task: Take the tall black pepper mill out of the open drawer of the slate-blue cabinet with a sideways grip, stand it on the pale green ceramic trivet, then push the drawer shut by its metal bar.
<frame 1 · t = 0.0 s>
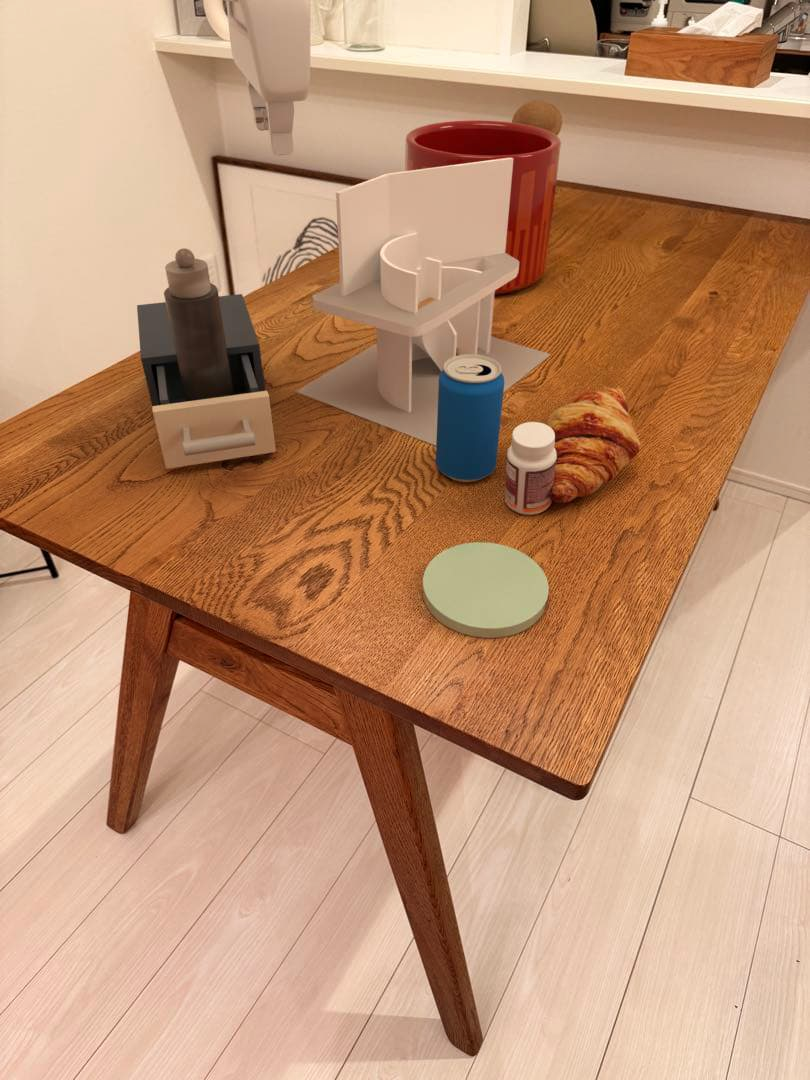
hand: (273, 140, 69), 30 cm above the table, tool pointing down, fingers open, 8 cm apart
pill bottle: (527, 501, 78), on the table, touching croissant
planter: (474, 273, 126), on the table
croissant: (587, 458, 83), point 1 cm above the table, touching pill bottle
pepper mill: (214, 421, 85), point 2 cm above the table, touching drawer
beverage can: (465, 470, 82), on the table
cabinet: (207, 390, 95), on the table
architectural model: (428, 373, 99), on the table
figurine: (527, 218, 148), on the table
drawer: (212, 410, 83), point 4 cm above the table, slide at 9.0 cm, touching pepper mill
trivet: (484, 592, 67), on the table
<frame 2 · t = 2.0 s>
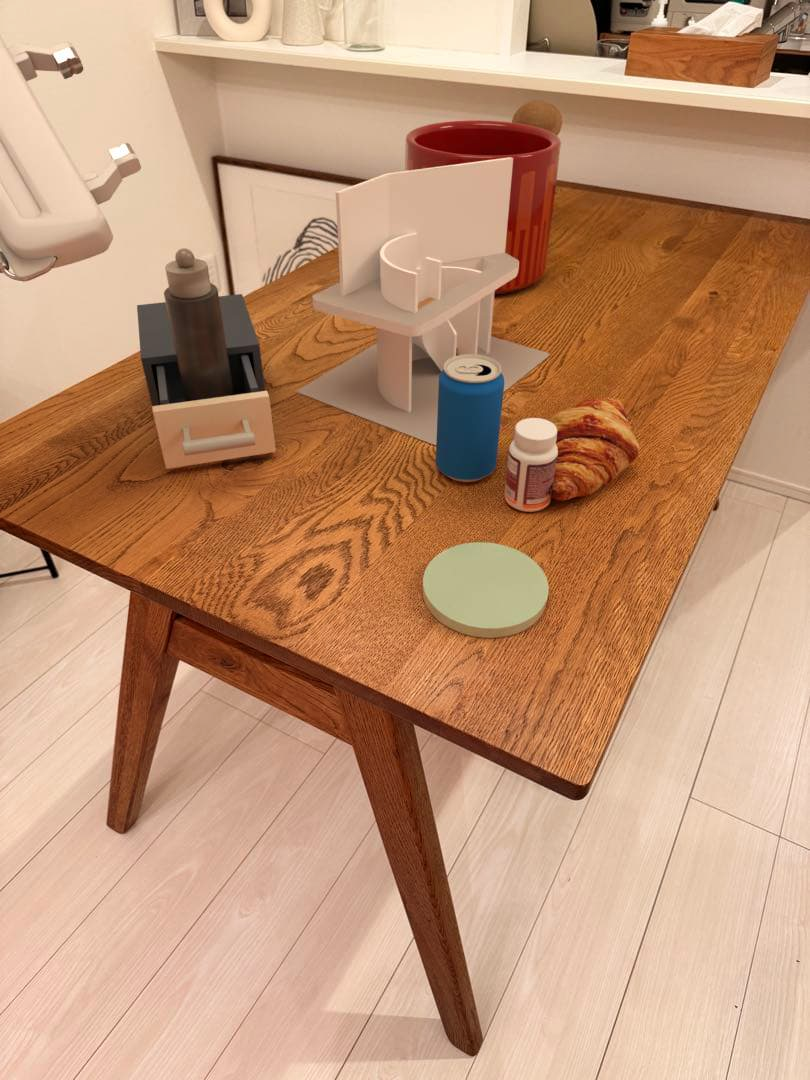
hand: (106, 105, 61), 34 cm above the table, tool horizontal, fingers open, 8 cm apart
pill bottle: (526, 500, 78), on the table, touching croissant
croissant: (587, 463, 83), on the table, touching pill bottle
everything else where it was.
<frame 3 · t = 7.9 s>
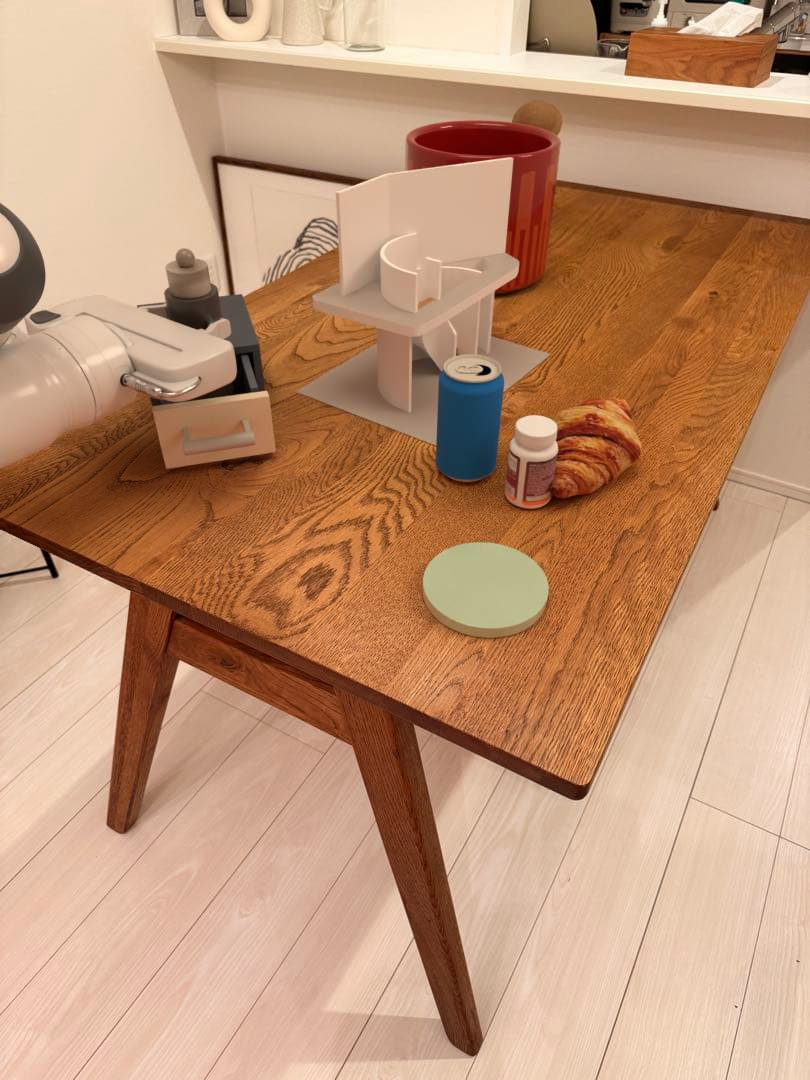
hand: (202, 316, 78), 14 cm above the table, tool horizontal, fingers closed on pepper mill, 5 cm apart
pepper mill: (214, 421, 85), point 2 cm above the table, touching drawer, gripper
when the fingers open (13 cm above the table, at t = 19.5 s): pepper mill stays where it is, resting on trivet.
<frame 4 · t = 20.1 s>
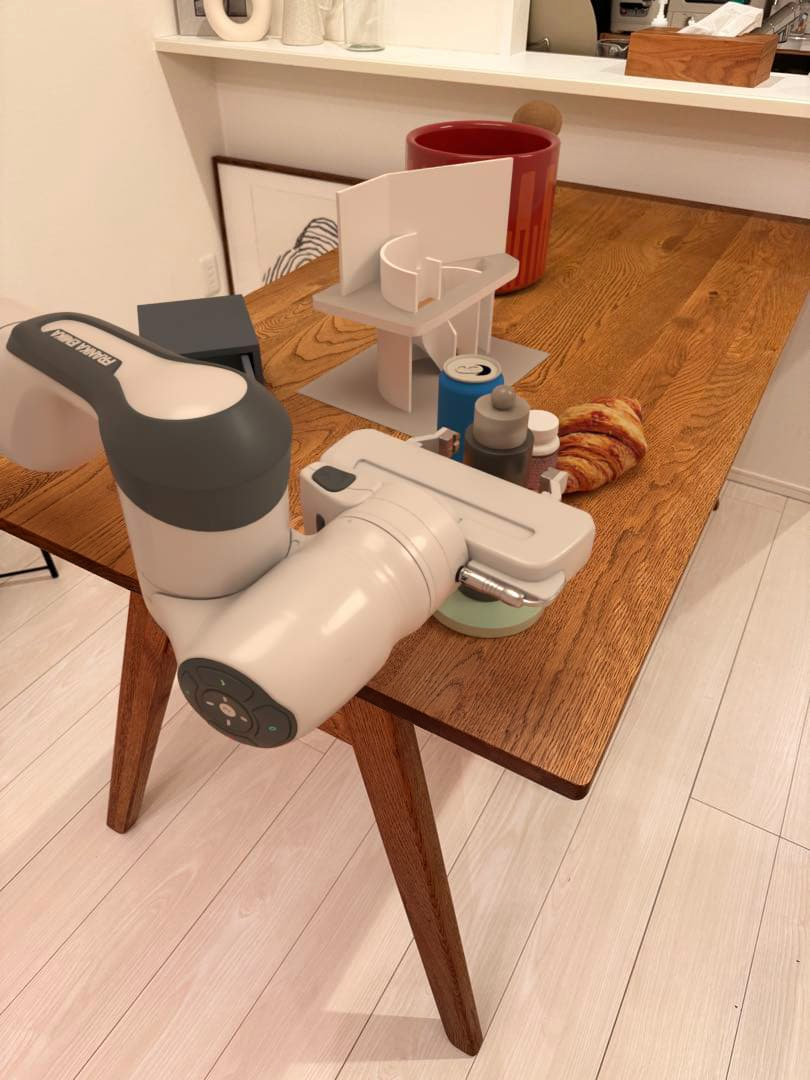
hand: (503, 456, 59), 14 cm above the table, tool horizontal, fingers open, 8 cm apart
pill bottle: (528, 491, 79), on the table, touching croissant
pepper mill: (484, 581, 67), point 1 cm above the table, touching trivet
drawer: (212, 410, 83), point 4 cm above the table, slide at 9.0 cm
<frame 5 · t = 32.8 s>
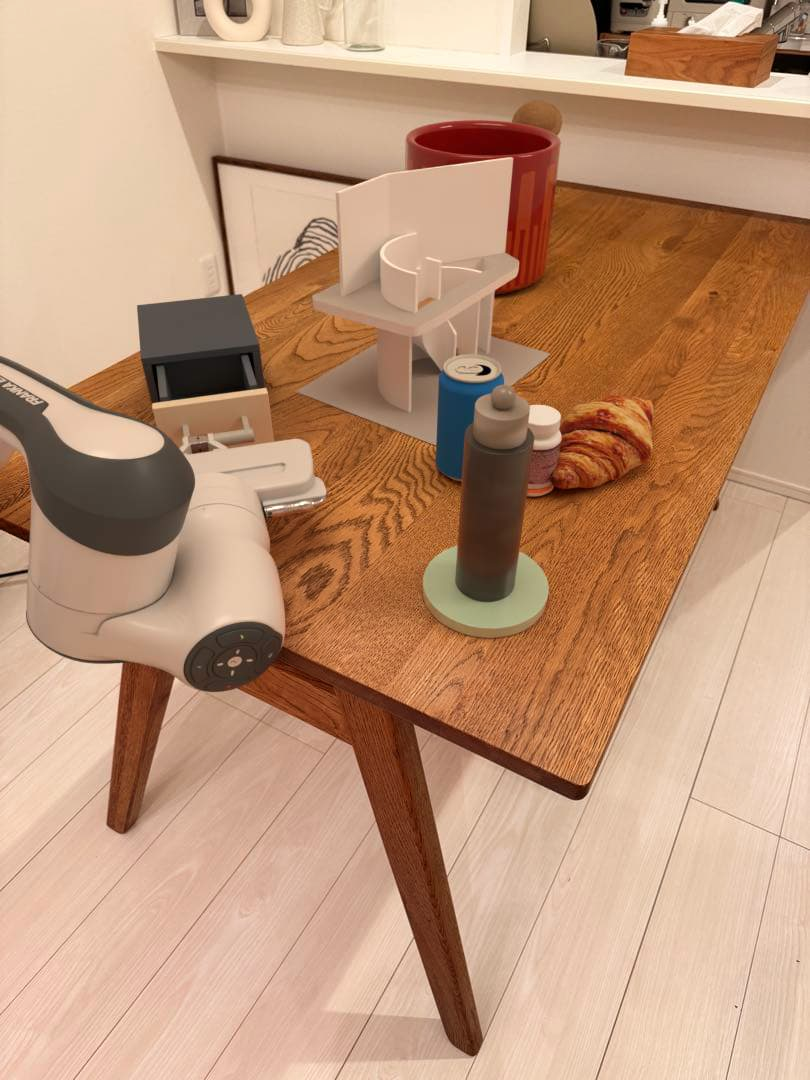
hand: (198, 441, 75), 6 cm above the table, tool horizontal, fingers closed, pressing on drawer
pill bottle: (530, 485, 80), on the table, touching croissant
drawer: (211, 407, 83), point 4 cm above the table, slide at 8.4 cm, touching gripper
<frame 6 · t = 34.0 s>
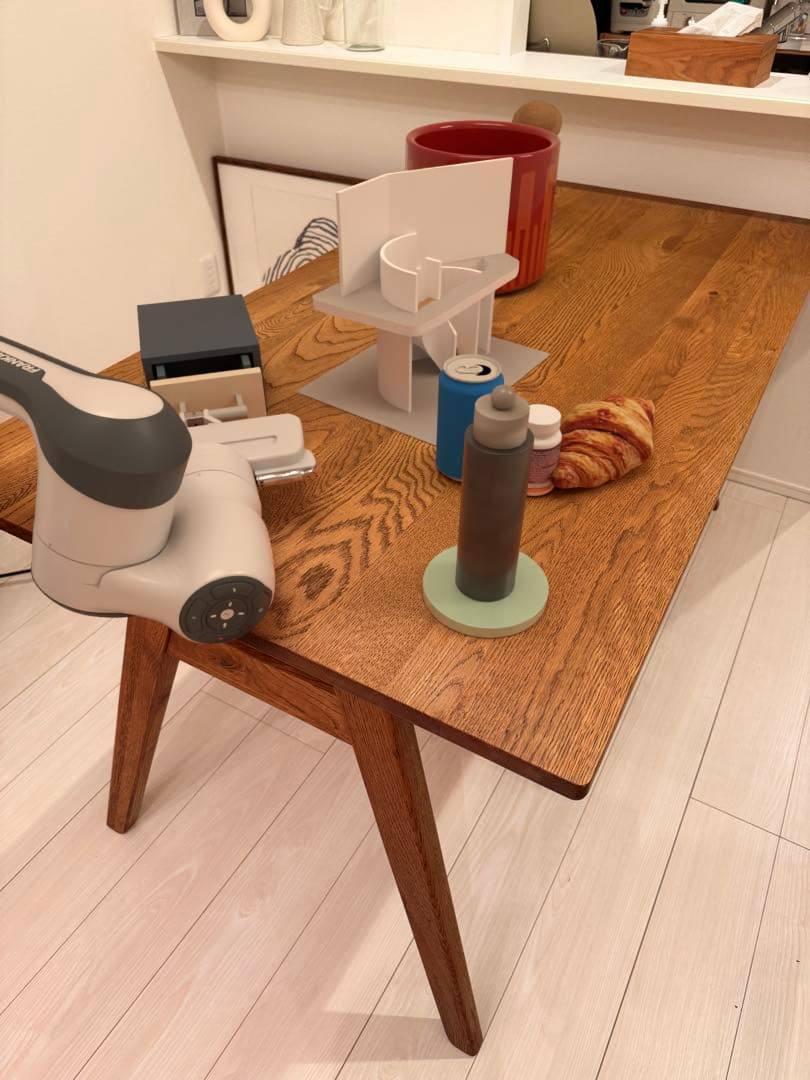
hand: (194, 416, 79), 6 cm above the table, tool horizontal, fingers closed, pressing on drawer
drawer: (207, 387, 87), point 4 cm above the table, slide at 3.6 cm, touching gripper
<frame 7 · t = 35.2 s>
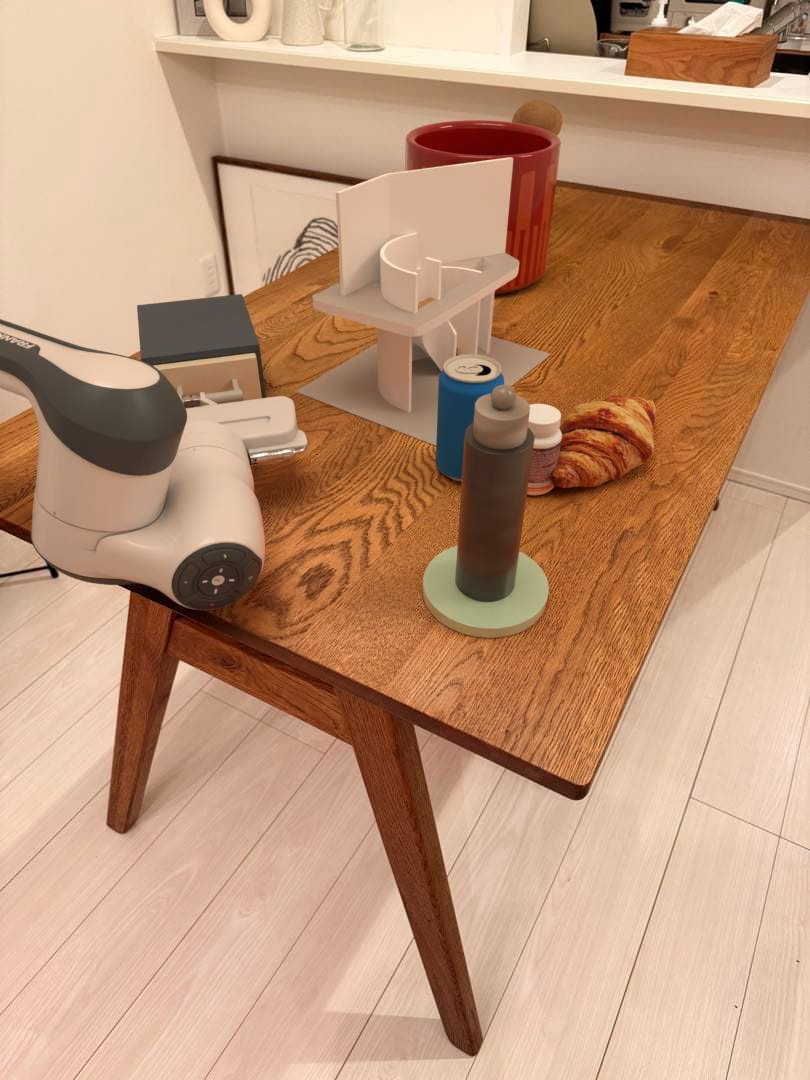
hand: (192, 399, 81), 6 cm above the table, tool horizontal, fingers closed, pressing on drawer
drawer: (204, 372, 89), point 4 cm above the table, slide at 0.0 cm, touching cabinet, gripper
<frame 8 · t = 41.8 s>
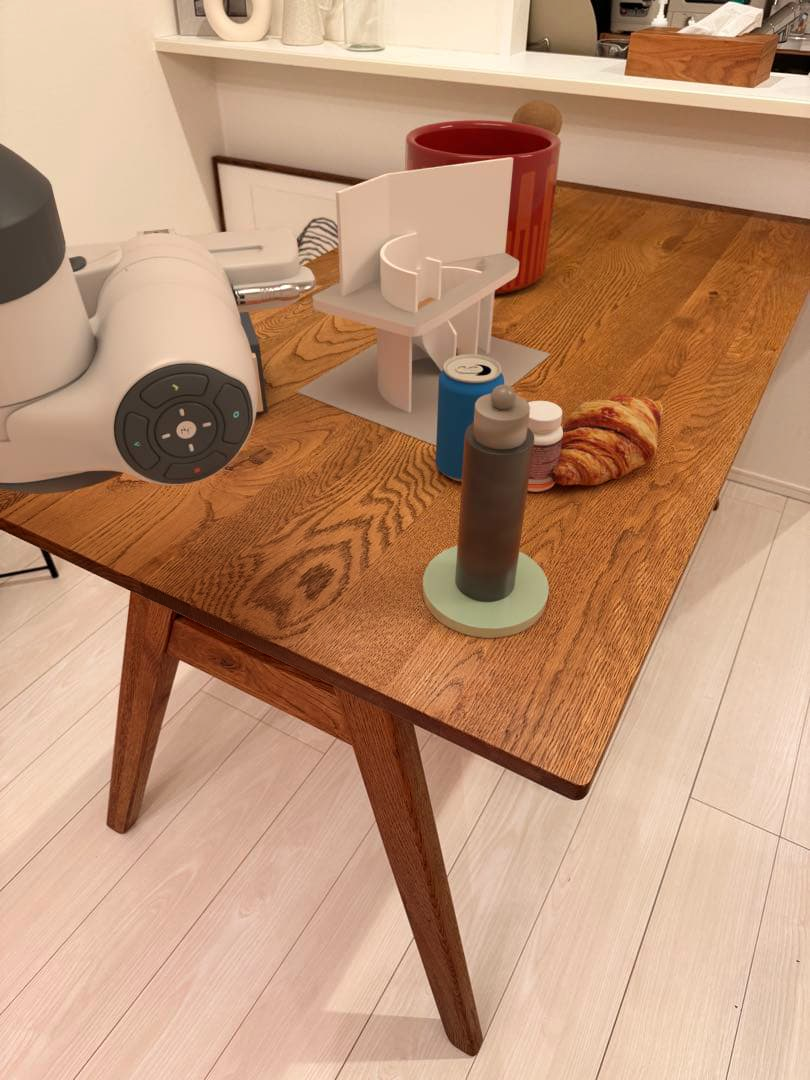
hand: (157, 239, 61), 26 cm above the table, tool horizontal, fingers closed
drawer: (204, 372, 89), point 4 cm above the table, slide at 0.0 cm, touching cabinet
at the end: pepper mill 0.1 cm off-centre on the trivet, point 1.2 cm above the trivet's base; pepper mill tilted 0°; drawer slide at 0.0 cm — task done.
